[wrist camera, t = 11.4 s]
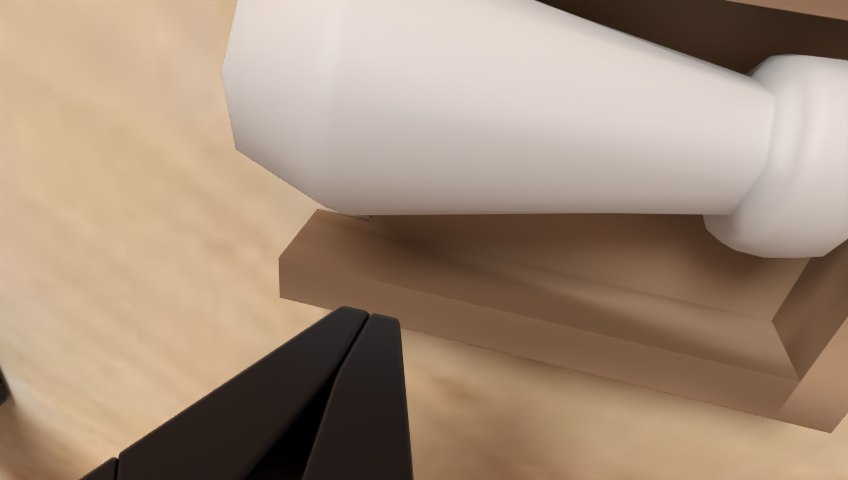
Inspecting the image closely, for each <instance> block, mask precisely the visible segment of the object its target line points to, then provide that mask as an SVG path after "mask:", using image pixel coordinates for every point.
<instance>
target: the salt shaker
mask: <svg viewBox="0 0 848 480" xmlns="http://www.w3.org/2000/svg"><path fill="white" fill-rule="evenodd" d="M221 75H222V80H223V85H224V90H225V95H226V101H227V106H228V111H229V116H230V121H231V127H232V132H233V137H234V142H235V147H236V150H238V151H239V152H241V153H242V154H244V155H245V156H247V157H248V158H250V159H252V160H253V161H255V162H256V163H258V164H259V165H261V166H262V167H264V168H265V169H267V170H268V171H270V172H272V173H273V174H275V175H276V176H278V177H279V178H281V179H282V180H284V181H285V182H287V183H288V184H290V185H292V186H293V187H295V188H296V189H298V190H299V191H301V192H302V193H304V194H305V195H307V196H308V197H310V198H312V199H313V200H315V201H316V202H318V203H320V204H322V205H323V206H325V207H327V208H330V209H333V210H335V211H338V212H341V213H344V214H346V215H443V214H558V213H642V214H703V218H704V222H705V226H706V229H707V230H708V231H709V232H710V233H711V234H712V235H713V236H715V237H716V238H717V239H718V240H719V241H720V242H722V243H723V244H725V245H727V246H729V247H730V248H732V249H734V250H736V251H740V252H744V253H748V254H752V255H756V256H759V257H763V258H806V257H822V256H824V255H826V254H827V253H829V252H830V251H831V250H833V249H834V248H836V247H837V246H838V245H840V244H841V243H843V242H844V241H845V240H847V239H848V61H847V60H840V59H832V58H824V57H815V56H806V55H796V54H782V55H775V56H770V57H768V58H767V59H766V60H764V61H763V62H761V63H760V64H759V65H757V66H756V67H754V68H753V69H752V70H750V71H749V72H747V73H746V75H744V74H741V73H738V72H735V71H732V70H729V69H727V68H724V67H721V66H718V65H715V64H712V63H709V62H707V61H704V60H701V59H698V58H695V57H692V56H690V55H687V54H684V53H681V52H678V51H675V50H673V49H670V48H667V47H664V46H661V45H658V44H656V43H653V42H650V41H647V40H644V39H641V38H639V37H636V36H633V35H630V34H627V33H624V32H621V31H619V30H616V29H613V28H610V27H607V26H604V25H602V24H599V23H596V22H593V21H590V20H587V19H585V18H582V17H579V16H576V15H573V14H570V13H568V12H565V11H562V10H559V9H556V8H554V7H551V6H548V5H546V4H543V3H540V2H538V1H535V0H238V3H237V7H236V12H235V16H234V20H233V25H232V29H231V34H230V38H229V42H228V47H227V51H226V56H225V60H224V64H223V69H222V73H221Z"/></svg>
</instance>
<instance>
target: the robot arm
mask: <svg viewBox="0 0 848 480" xmlns="http://www.w3.org/2000/svg"><path fill="white" fill-rule="evenodd" d="M6 401H7V396H6V394H5V392H4V389H3V387H2V385H1V383H0V406H1V405H2V404H3V403H5V402H6ZM79 480H414V478H413V466H412V455H411V444H410V432H409V421H408V410H407V398H406V387H405V376H404V364H403V353H402V342H401V331H400V322H399V320H398V319H397V318H393V317H389V316H385V315H381V314H377V313H374V314H371V315H370V314H369V313H368V312H367V311H365V310H361V309H357V308H353V307H349V306H341V307H339V308H337V309H336V310H334V311H333V312H331V313H330V314H328V315H327V316H325V317H324V318H322V319H320V320H319V321H317V322H316V323H314V324H313V325H311V326H310V327H308V328H307V329H305V330H304V331H302V332H301V333H299V334H298V335H296V336H295V337H293V338H292V339H290V340H289V341H287V342H286V343H284V344H283V345H281V346H280V347H278V348H277V349H275V350H274V351H272V352H271V353H269V354H268V355H266V356H265V357H263V358H262V359H260V360H259V361H257V362H256V363H254V364H253V365H251V366H250V367H248V368H247V369H245V370H244V371H242V372H241V373H239V374H238V375H236V376H235V377H233V378H232V379H230V380H229V381H227V382H226V383H224V384H223V385H221V386H219V387H218V388H216V389H215V390H213V391H212V392H210V393H209V394H207V395H206V396H204V397H203V398H201V399H200V400H198V401H197V402H195V403H194V404H192V405H191V406H189V407H188V408H186V409H185V410H183V411H182V412H180V413H179V414H177V415H176V416H174V417H173V418H171V419H170V420H168V421H167V422H165V423H164V424H162V425H161V426H159V427H158V428H156V429H155V430H153V431H152V432H150V433H149V434H147V435H146V436H144V437H143V438H141V439H140V440H138V441H137V442H135V443H134V444H132V445H131V446H129V447H128V448H126V449H125V450H123V451H122V452H120V454H119V457H118V458H116V457H112V458H110V459H109V460H107V461H106V462H104V463H103V464H101V465H100V466H98V467H97V468H95V469H94V470H92V471H91V472H89V473H88V474H86V475H85V476H83V477H82V478H80V479H79Z"/></svg>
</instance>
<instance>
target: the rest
mask: <svg viewBox="0 0 848 480" xmlns="http://www.w3.org/2000/svg"><path fill="white" fill-rule="evenodd" d="M535 1H538V2H540V3H543V4H546V5H548V6H551V7H554V8H556V9H559V10H562V11H565V12H568V13H570V14H573V15H576V16H579V17H582V18H585V19H587V20H590V21H593V22H596V23H599V24H602V25H604V26H607V27H610V28H613V29H616V30H619V31H621V32H624V33H627V34H630V35H633V36H636V37H639V38H641V39H644V40H647V41H650V42H653V43H656V44H658V45H661V46H664V47H667V48H670V49H673V50H675V51H678V52H681V53H684V54H687V55H690V56H692V57H695V58H698V59H701V60H704V61H707V62H709V63H712V64H715V65H718V66H721V67H724V68H727V69H729V70H732V71H735V72H738V73H741V74H744V75H746V73H747V72H749V71H750V70H752V69H753V68H754V67H756V66H757V65H759V64H760V63H761V62H763V61H764V60H766V59H767V58H768V57H770V56H775V55H782V54H796V55H806V56H815V57H824V58H832V59H840V60H847V61H848V0H535ZM279 285H280V298H284V299H288V300H292V301H296V302H300V303H305V304H309V305H313V306H317V307H321V308H325V309H329V310H333V311H334V310H336V309H337V308H339V307H341V306H349V307H353V308H357V309H361V310H365V311H367V312H368V313H369V314H370V315H371V314H374V313H377V314H381V315H385V316H389V317H393V318H397V319H398V320H399V322H400V327H402V328H406V329H410V330H414V331H418V332H422V333H426V334H430V335H434V336H438V337H442V338H446V339H450V340H455V341H459V342H463V343H467V344H471V345H475V346H479V347H483V348H487V349H491V350H495V351H499V352H503V353H507V354H511V355H515V356H519V357H523V358H527V359H532V360H536V361H540V362H544V363H548V364H552V365H556V366H560V367H564V368H568V369H572V370H576V371H580V372H584V373H588V374H592V375H596V376H600V377H605V378H609V379H613V380H617V381H621V382H625V383H629V384H633V385H637V386H641V387H645V388H649V389H653V390H657V391H661V392H665V393H669V394H673V395H677V396H682V397H686V398H690V399H694V400H698V401H702V402H706V403H710V404H714V405H718V406H722V407H726V408H730V409H734V410H738V411H742V412H746V413H750V414H754V415H759V416H763V417H767V418H771V419H775V420H779V421H783V422H787V423H791V424H795V425H799V426H803V427H807V428H811V429H815V430H819V431H823V432H827V433H831V432H832V431H833V430H834V429H835V428H836V426H837V425H838V424H839V423H840V422H841V420H842V419H843V418H844V417H845V416H846V414H847V413H848V239H847V240H845V241H844V242H843V243H841V244H840V245H838V246H837V247H836V248H834V249H833V250H831V251H830V252H829V253H827V254H826V255H824V256H822V257H806V258H763V257H759V256H756V255H752V254H748V253H744V252H740V251H736V250H734V249H732V248H730V247H729V246H727V245H725V244H723V243H722V242H720V241H719V240H718V239H717V238H716V237H715V236H713V235H712V234H711V233H710V232H709V231H708V230H707V229H706V226H705V222H704V218H703V214H642V213H558V214H443V215H371V221H368V220H364V219H360V218H355V217H351V216H346V215H342V214H337V213H333V212H328V211H324V210H320V209H317V210H316V211H315V213H314V214H313V215H312V216H311V218H310V219H309V220H308V222H307V223H306V224H305V225H304V227H303V228H302V229H301V230H300V232H299V233H298V234H297V235H296V237H295V238H294V239H293V240H292V242H291V243H290V244H289V245H288V247H287V248H286V249H285V251H284V252H283V253H282V254H281V256H280V257H279Z"/></svg>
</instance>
